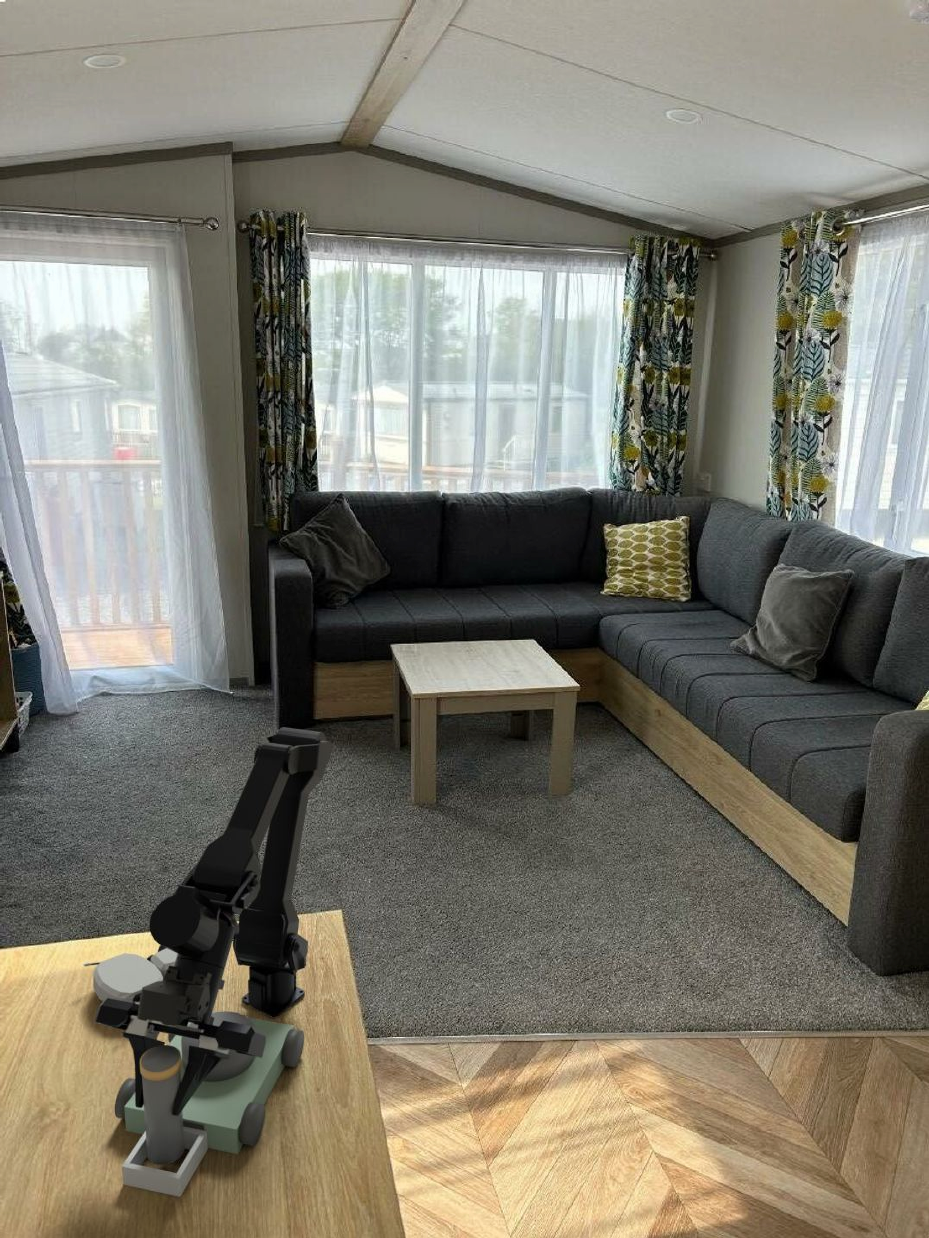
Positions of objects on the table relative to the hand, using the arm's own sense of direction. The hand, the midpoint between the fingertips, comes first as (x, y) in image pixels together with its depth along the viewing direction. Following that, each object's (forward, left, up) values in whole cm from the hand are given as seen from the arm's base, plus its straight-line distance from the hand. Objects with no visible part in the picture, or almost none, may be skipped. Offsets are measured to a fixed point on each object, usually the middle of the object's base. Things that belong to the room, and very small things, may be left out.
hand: (156, 1111), depth 108 cm
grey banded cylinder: (-1, 0, -7) cm, 7 cm away
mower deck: (-10, -4, -9) cm, 14 cm away
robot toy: (-22, -26, -9) cm, 35 cm away
